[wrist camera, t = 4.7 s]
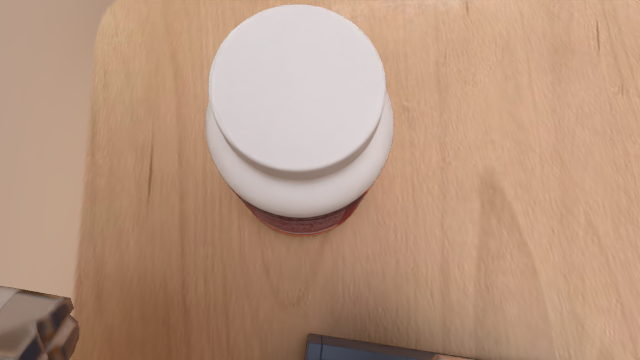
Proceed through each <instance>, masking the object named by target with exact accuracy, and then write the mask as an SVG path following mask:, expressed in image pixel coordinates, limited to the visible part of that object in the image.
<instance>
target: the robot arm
mask: <svg viewBox="0 0 640 360" xmlns="http://www.w3.org/2000/svg"><path fill="white" fill-rule="evenodd" d="M73 309H74V307H73V304H72V301H71V298H67V297H61V296H56V295H50V294H45V293H39V292H33V291H28V290H22V289H16V288H10V287H4V286H0V360H69V359H70V358H71V356H72V354H73V353H74V351H75V348H76V345H77V342H78V339H79V325H78V321H77V320H75V319H74V318H73V317H72V316H71V315H70V313H71V311H72V310H73ZM432 360H474V359H466V358H459V357H452V356H445V355H438V354H436V355H435V356H433V358H432Z"/></svg>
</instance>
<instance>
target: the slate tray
mask: <svg viewBox="0 0 640 360" xmlns="http://www.w3.org/2000/svg"><path fill="white" fill-rule="evenodd" d="M436 354H438V355H445V354H439V353H432V352H426V351H419V350H413V349H406V348H400V347H394V346H387V345H381V344H374V343H368V342H361V341H355V340H348V339H342V338H335V337H329V336H322V335H316V334H308V339H307V346H306V353H305V360H432V358H433V356H435V355H436ZM445 356H452V355H445ZM452 357H458V356H452ZM459 358H465V357H459ZM466 359H471V358H466ZM474 360H478V359H474Z"/></svg>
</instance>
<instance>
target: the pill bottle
mask: <svg viewBox="0 0 640 360" xmlns="http://www.w3.org/2000/svg"><path fill="white" fill-rule="evenodd" d="M208 90H209V102H208V106H207V111H206V138H207V143H208V147H209V151H210V154H211V156H212V159H213V161H214V163H215V165H216V167H217V169H218V171H219V173H220V174H221V176H222V177H223V179H224V180H225V182H226V183H227V184H228V186H229V187H230V188H231V189H232V190H233V191H234V192H235V193H236V194H237V196H238V197H239V198H240V199H241V200H242V201H243V202H244V203H245V205H246V206H247V207H248V208H249V209H250V210H251V212H252V213H253V214H254V215H255V216H256V217H257V218H258V219H259V220H260V221H261V222H263V223H264V224H265V225H267V226H269V227H270V228H272V229H274V230H276V231H278V232H281V233H284V234H287V235H292V236H314V235H318V234H322V233H325V232H327V231H330V230H332V229H334V228H336V227H337V226H339V225H340V224H342V223H343V222H344V221H345V220H346V219H347V218H348V217H349V216H350V215H351V214H352V213H353V212H354V211H355V210H356V208H357V207H358V205H359V203H360V202H361V201H362V200H363V198H364V196H365V195H366V193H367V192H368V191H369V189H370V188H371V186H372V185H373V183H374V182H375V181H376V179H377V177H378V176H379V174H380V172H381V171H382V169H383V167H384V165H385V163H386V161H387V159H388V156H389V153H390V150H391V146H392V142H393V134H394V116H393V110H392V106H391V102H390V98H389V95H388V93H387V90H386V79H385V72H384V68H383V65H382V61H381V59H380V57H379V54H378V52H377V50H376V48H375V47H374V45H373V44H372V42H371V41H370V39H369V38H368V37H367V36H366V34H365V33H364V32H363V31H362V30H361V29H360V28H359V27H357V26H356V25H355V24H354V23H353V22H351V21H350V20H348V19H347V18H345V17H343V16H341V15H340V14H337V13H335V12H333V11H330V10H328V9H325V8H321V7H318V6H312V5H299V4H290V5H283V6H277V7H273V8H270V9H266V10H263V11H261V12H259V13H257V14H255V15H253V16H251V17H249V18H248V19H246V20H245V21H243V22H242V23H241V24H239V25H238V26H237V27H236V28H234V29H233V30H232V31H231V32H230V33H229V35H228V36H227V37H226V38H225V39H224V41H223V42H222V44H221V45H220V47H219V49H218V51H217V53H216V55H215V57H214V59H213V62H212V66H211V69H210V74H209V84H208Z"/></svg>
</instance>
